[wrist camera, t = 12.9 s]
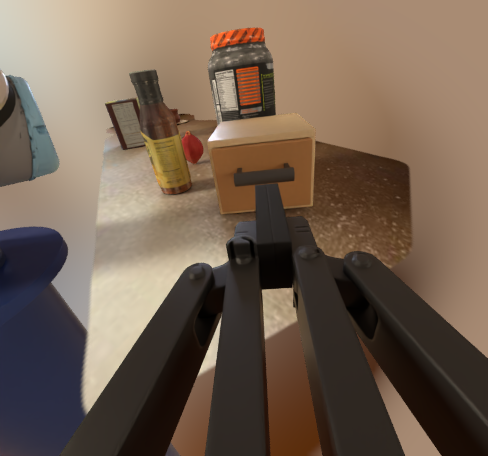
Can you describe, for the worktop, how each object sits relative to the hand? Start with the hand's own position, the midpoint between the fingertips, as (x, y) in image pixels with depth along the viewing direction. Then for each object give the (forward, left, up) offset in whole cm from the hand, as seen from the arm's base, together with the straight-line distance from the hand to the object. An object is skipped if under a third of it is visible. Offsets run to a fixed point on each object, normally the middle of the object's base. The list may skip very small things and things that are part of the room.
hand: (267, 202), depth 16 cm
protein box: (-48, +82, -10) cm, 96 cm away
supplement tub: (-3, +55, -10) cm, 56 cm away
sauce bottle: (-17, +29, -10) cm, 35 cm away
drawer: (0, +21, -9) cm, 23 cm away
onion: (-17, +46, -10) cm, 50 cm away
